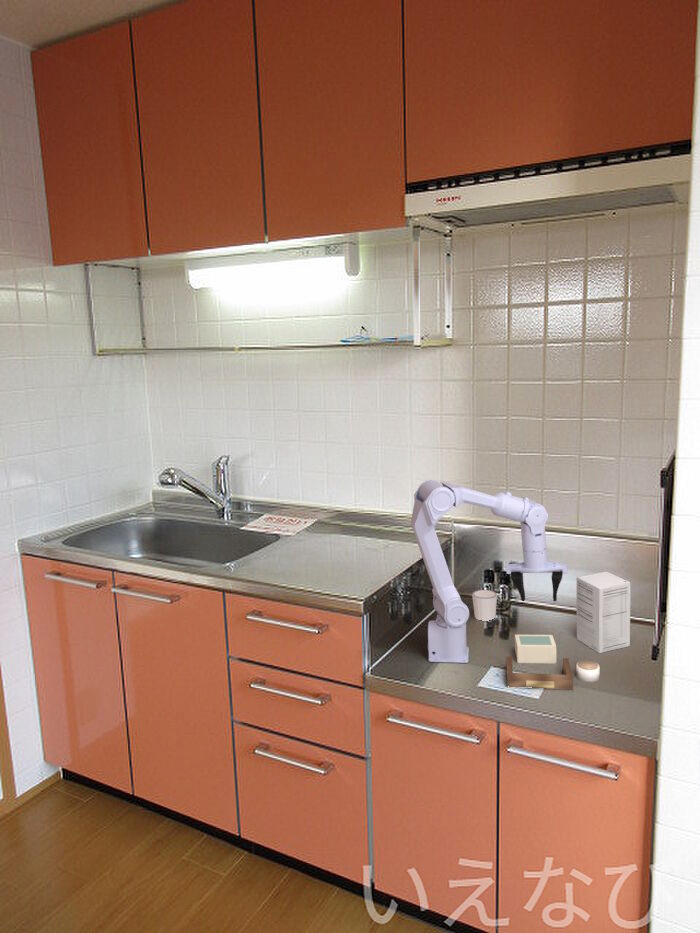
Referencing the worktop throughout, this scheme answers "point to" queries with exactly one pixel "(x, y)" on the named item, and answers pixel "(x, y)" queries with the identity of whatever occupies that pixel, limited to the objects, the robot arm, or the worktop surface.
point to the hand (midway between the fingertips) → (539, 599)
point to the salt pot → (588, 671)
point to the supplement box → (603, 611)
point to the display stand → (540, 678)
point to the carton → (535, 649)
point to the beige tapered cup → (484, 604)
